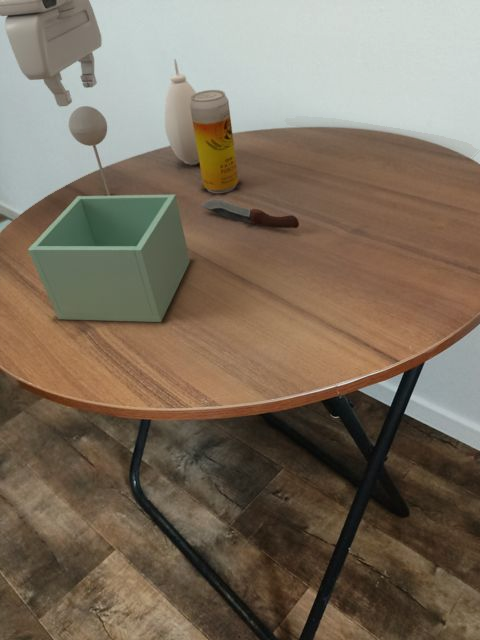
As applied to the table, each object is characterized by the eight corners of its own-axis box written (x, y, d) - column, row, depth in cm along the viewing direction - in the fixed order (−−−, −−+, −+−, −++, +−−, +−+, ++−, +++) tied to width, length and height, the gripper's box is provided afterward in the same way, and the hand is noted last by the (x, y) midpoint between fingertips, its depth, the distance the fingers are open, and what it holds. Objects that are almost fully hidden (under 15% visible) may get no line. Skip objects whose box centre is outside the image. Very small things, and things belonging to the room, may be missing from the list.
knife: (198, 213, 84) (195, 195, 82) (204, 209, 85) (201, 191, 83) (296, 238, 75) (295, 219, 73) (301, 233, 76) (300, 214, 74)
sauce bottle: (182, 175, 96) (161, 67, 84) (167, 162, 102) (145, 59, 90) (220, 163, 99) (205, 57, 87) (203, 152, 104) (186, 50, 92)
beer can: (230, 195, 88) (217, 101, 78) (198, 193, 90) (181, 100, 80) (244, 180, 92) (233, 89, 82) (212, 178, 94) (198, 88, 84)
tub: (58, 319, 65) (27, 249, 59) (99, 261, 75) (77, 195, 69) (161, 322, 63) (140, 249, 56) (190, 261, 73) (175, 194, 66)
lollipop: (114, 205, 89) (87, 113, 79) (85, 203, 91) (55, 113, 81) (132, 189, 93) (108, 100, 83) (104, 188, 95) (78, 100, 85)
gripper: (57, -20, 80) (86, 77, 89) (-15, 3, 65) (29, 118, 74) (95, -25, 79) (121, 75, 88) (30, -2, 64) (69, 115, 73)
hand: (78, 95), depth 81 cm, fingers open, 8 cm apart
